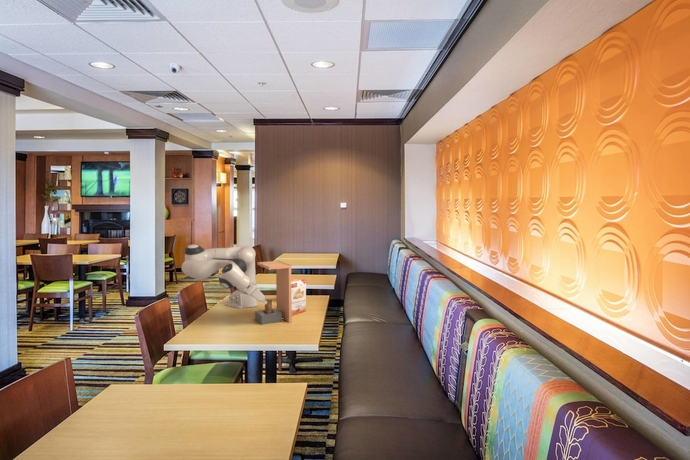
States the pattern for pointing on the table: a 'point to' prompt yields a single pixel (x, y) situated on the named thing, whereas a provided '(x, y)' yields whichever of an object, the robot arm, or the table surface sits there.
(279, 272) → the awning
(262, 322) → the socket
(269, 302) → the peg
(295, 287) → the cracker box
